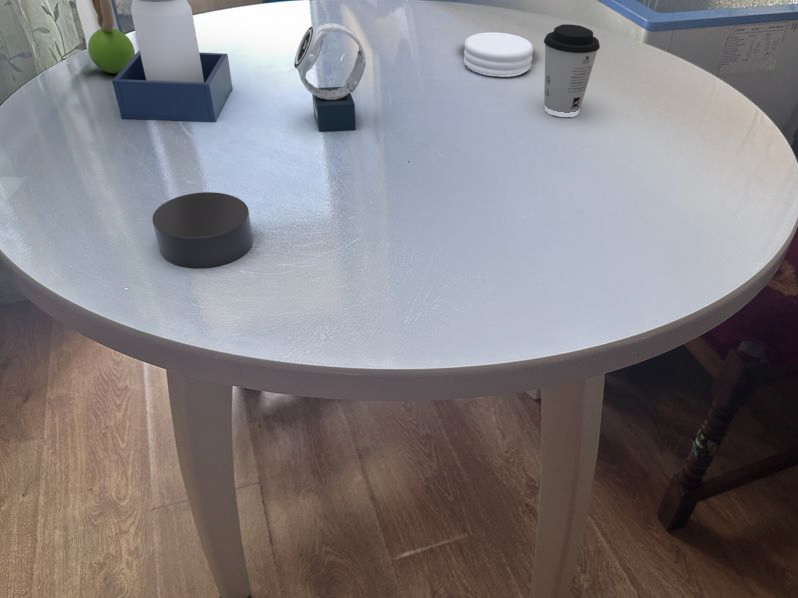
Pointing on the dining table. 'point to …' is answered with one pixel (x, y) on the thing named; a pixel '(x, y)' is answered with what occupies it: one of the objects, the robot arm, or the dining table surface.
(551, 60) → the coffee cup
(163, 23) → the can
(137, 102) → the blue open box
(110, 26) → the green maraca
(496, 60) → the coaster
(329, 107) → the watch
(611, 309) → the dining table surface
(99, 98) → the dining table surface
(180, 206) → the stand
